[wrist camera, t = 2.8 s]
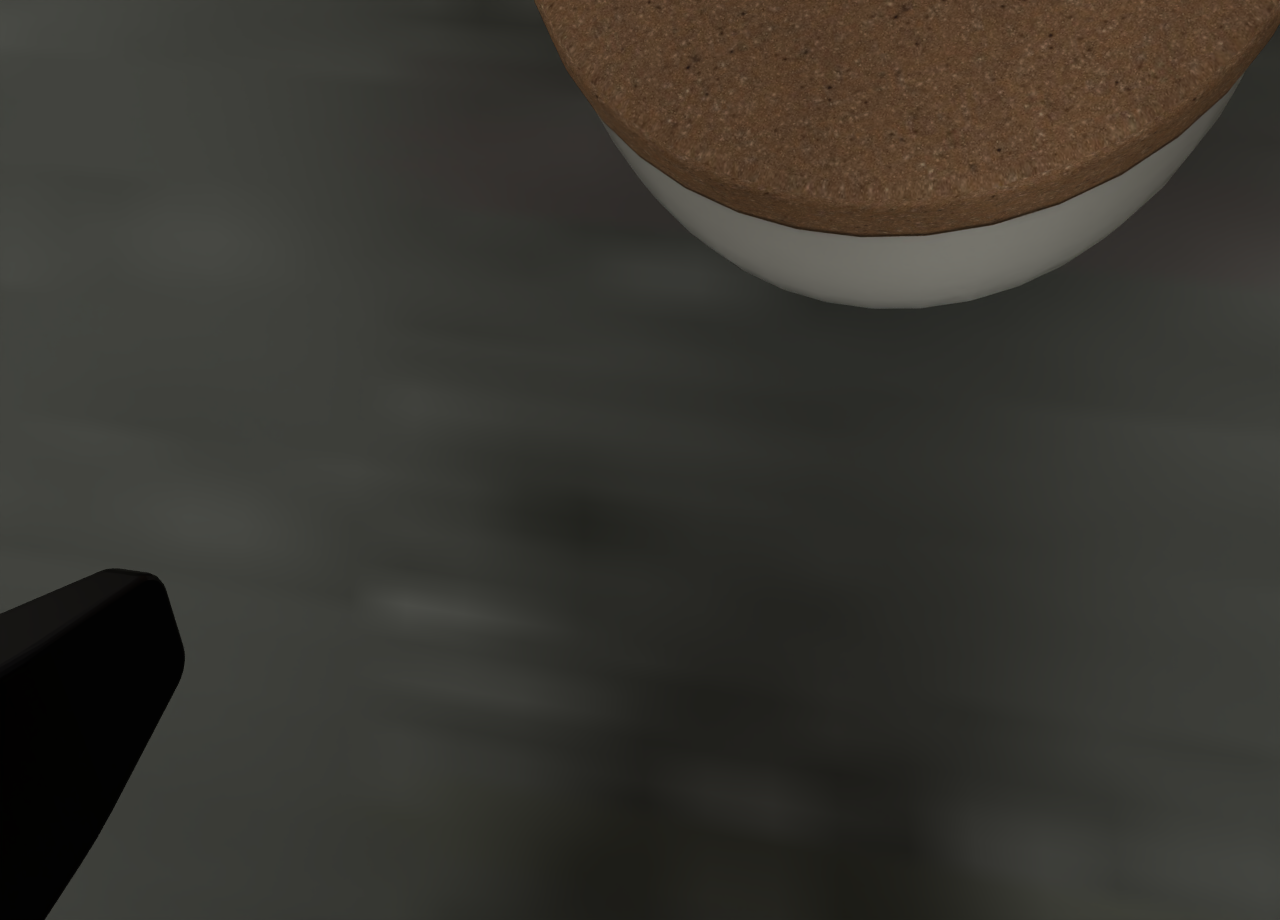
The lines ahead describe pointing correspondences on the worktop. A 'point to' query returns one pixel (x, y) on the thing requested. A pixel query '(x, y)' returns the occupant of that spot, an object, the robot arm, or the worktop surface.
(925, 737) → the worktop surface
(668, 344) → the worktop surface
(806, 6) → the lidded jar
